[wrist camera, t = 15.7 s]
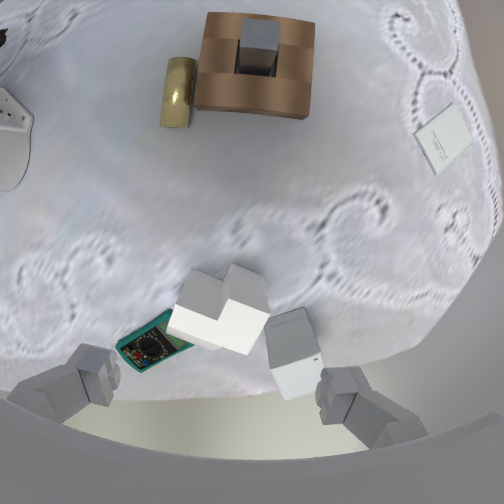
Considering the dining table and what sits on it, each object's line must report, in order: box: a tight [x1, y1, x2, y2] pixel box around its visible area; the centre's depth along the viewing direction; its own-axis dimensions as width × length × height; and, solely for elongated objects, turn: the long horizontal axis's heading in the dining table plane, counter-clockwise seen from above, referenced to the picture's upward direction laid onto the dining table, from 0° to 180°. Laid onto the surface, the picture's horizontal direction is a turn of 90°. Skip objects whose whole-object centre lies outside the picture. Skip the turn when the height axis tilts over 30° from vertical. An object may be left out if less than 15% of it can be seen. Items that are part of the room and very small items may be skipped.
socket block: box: [194, 12, 315, 120], centre depth 33 cm, size 15×15×4 cm
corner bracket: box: [166, 263, 270, 355], centre depth 40 cm, size 11×11×12 cm
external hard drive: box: [413, 103, 473, 175], centre depth 38 cm, size 2×8×12 cm
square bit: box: [240, 18, 280, 77], centre depth 29 cm, size 4×4×12 cm
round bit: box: [160, 57, 196, 128], centre depth 34 cm, size 10×4×4 cm
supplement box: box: [264, 307, 326, 401], centre depth 42 cm, size 7×7×13 cm
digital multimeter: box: [115, 309, 195, 373], centre depth 47 cm, size 7×15×3 cm, turn 124°
